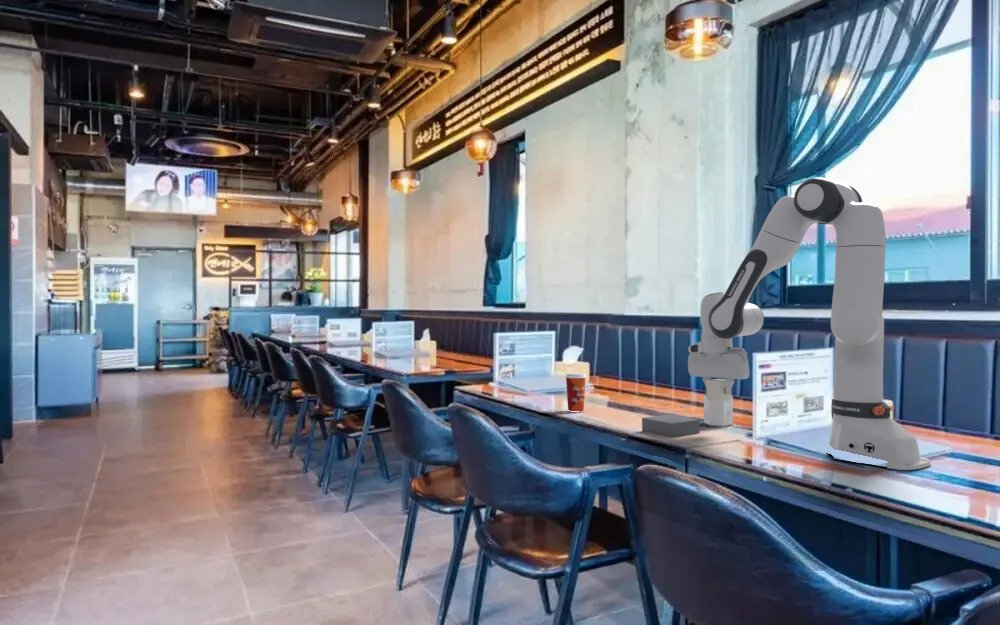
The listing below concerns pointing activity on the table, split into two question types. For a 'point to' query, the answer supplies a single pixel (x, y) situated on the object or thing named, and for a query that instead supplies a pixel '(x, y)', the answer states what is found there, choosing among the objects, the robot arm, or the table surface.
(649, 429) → the block
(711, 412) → the jar
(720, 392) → the block
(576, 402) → the paper cup
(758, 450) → the table surface
